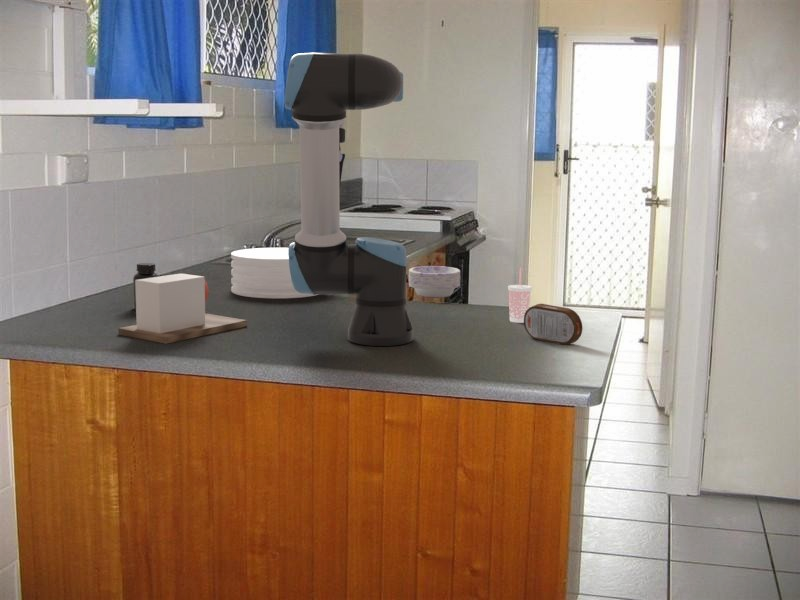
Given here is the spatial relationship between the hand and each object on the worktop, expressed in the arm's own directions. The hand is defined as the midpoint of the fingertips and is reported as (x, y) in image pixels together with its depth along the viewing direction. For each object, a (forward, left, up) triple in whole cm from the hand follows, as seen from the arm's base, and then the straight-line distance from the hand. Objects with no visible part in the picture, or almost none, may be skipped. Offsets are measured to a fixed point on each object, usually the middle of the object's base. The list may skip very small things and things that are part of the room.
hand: (328, 217), depth 262 cm
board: (-12, +42, -25) cm, 51 cm away
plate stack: (+36, +1, -25) cm, 44 cm away
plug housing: (-14, +46, -23) cm, 53 cm away
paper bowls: (+10, -38, -25) cm, 47 cm away
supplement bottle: (+20, +44, -25) cm, 54 cm away
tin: (-57, -32, -25) cm, 70 cm away
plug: (-13, +44, -19) cm, 50 cm away
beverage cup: (-33, -39, -25) cm, 57 cm away
